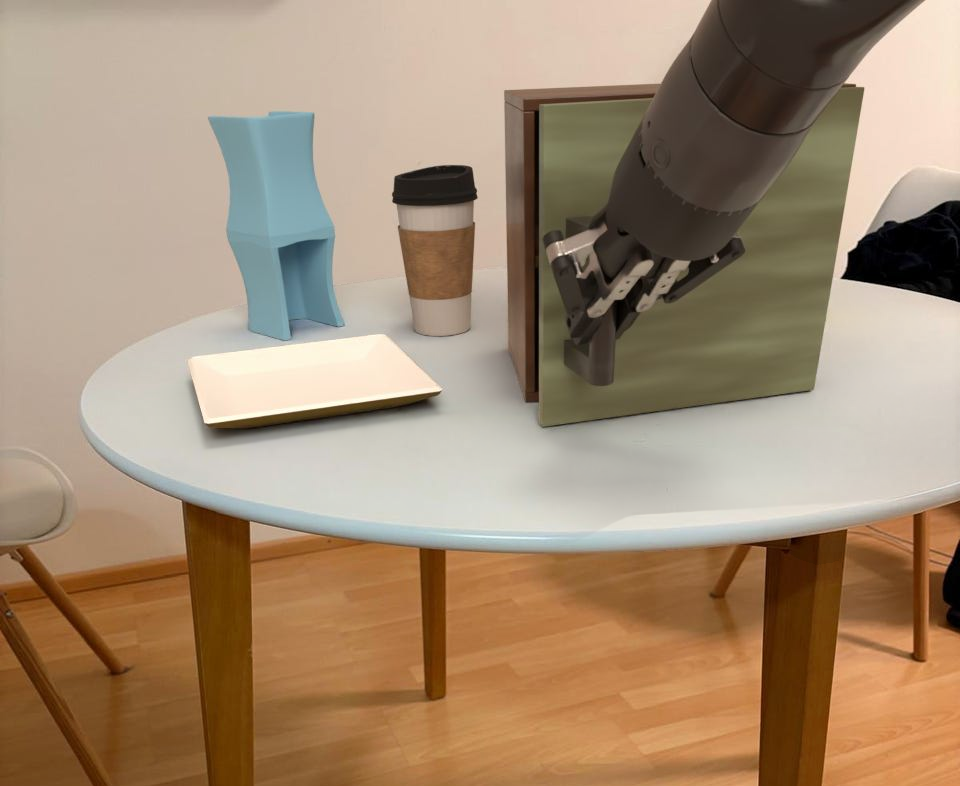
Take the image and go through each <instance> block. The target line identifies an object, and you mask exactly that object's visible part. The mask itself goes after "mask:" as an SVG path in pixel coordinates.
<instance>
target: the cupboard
mask: <svg viewBox="0 0 960 786" xmlns="http://www.w3.org/2000/svg"><path fill="white" fill-rule="evenodd" d="M660 84H661V83H641V84H618V85H616V84H615V85H596V86H595V85H594V86H591V85H590V86H570V87H552V88H551V87H548V88H545V87H544V88H524V89H523V88H522V89H504V91H503V101H504V102H503V104H504V107H503V110H504V111H503V112H504V114H503V115H504V163H505V165H504V167H505V223H506V224H505V225H506V230H505V231H506V280H507V282H506V283H507V284H506V286H507V287H506V288H507V337H508V338H507V340H508V341H507V342H508V344H507V345H508V347H507V348H508V352H509V355H510V358H511V362H512V364H513V368H514V371H515V374H516V376H517V380H518V383H519V386H520V389H521V392H522V395H523V398H524V402H525V403H539V105H540V104H556V103H573V102H591V101H609V100H627V99H645V98H654V96H655V94H656V92H657V90H658V88H659V86H660ZM843 87H857V84H856V83H848V82H847V83H846V82H845V83H844V84H843V85H842V87H841V88H843Z"/></svg>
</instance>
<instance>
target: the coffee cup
mask: <svg viewBox="0 0 960 786" xmlns="http://www.w3.org/2000/svg"><path fill="white" fill-rule="evenodd" d="M475 183H476V182H475V177H474V170H473V167H472V166H470V165H466V164H465V165H464V164H443V165H442V164H441V165H433V166H428V167H424V168H419V169H415V170H412V171H407V172H404V173H400V174H397V175H394V177H393V191H392V193H391V197H392V200H391V202H392V203H393V204H395V205H396V210H397V217H398V225H397V230H398V231H397V232H398V237H399V244H400V248H401V249H400V250H401V256H402V261H403V269H404V273H405V280H406V286H407V290H408V291H407V292H408V296H409V302H410V303H409V304H410V308H411V315H412V316H411V317H412V324H413V328H414V329H413V331H414V332H415V333H417V334H419V335H423V336H427V337H447V336H448V337H449V336H454V335H461V334H463V333H466V332H468V331H469V330H470V329H471V321H472V318H471V317H472V292H473V274H474V255H475V253H474V252H475V235H476V222H475V221H474V207H475V201H476V200H478V199H479V197H478V194H477V193H478V189H477V188H476V185H475Z"/></svg>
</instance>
